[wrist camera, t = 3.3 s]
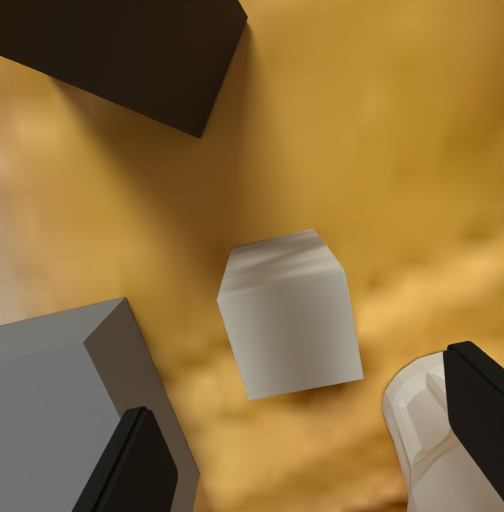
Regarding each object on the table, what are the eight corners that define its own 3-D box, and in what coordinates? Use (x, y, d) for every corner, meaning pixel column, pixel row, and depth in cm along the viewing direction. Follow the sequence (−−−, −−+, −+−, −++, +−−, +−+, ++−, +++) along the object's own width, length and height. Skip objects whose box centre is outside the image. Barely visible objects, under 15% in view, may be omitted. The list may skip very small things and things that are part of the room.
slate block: (125, 296, 20) (82, 342, 15) (199, 473, 24) (185, 550, 20) (-90, 346, 21) (-190, 401, 16) (20, 503, 26) (-33, 581, 21)
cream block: (313, 228, 18) (345, 271, 11) (327, 302, 20) (363, 378, 13) (231, 247, 18) (216, 299, 12) (252, 318, 20) (248, 400, 13)
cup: (442, 487, 24) (582, 738, 14) (318, 417, 22) (370, 649, 12) (573, 382, 21) (890, 609, 10) (440, 289, 19) (665, 455, 8)
